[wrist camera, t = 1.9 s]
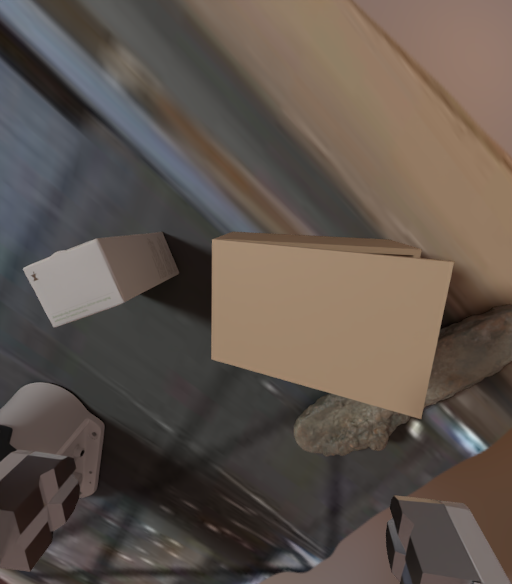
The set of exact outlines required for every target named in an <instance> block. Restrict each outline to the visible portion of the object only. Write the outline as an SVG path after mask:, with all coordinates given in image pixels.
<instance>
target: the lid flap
mask: <svg viewBox="0 0 512 584" xmlns="http://www.w3.org/2000/svg"><path fill="white" fill-rule="evenodd" d="M453 265H454V262H453V261H446V260H435V259H425V258H414V257H404V256H393V255H382V254H372V253H361V252H351V251H340V250H329V249H319V248H308V247H297V246H287V245H276V244H266V243H255V242H244V241H234V240H223V239H212V357H211V359H213V360H216V361H220V362H223V363H227V364H230V365H234V366H237V367H241V368H244V369H248V370H251V371H254V372H258V373H261V374H265V375H268V376H272V377H275V378H279V379H282V380H286V381H289V382H293V383H296V384H300V385H303V386H307V387H310V388H314V389H317V390H321V391H324V392H328V393H331V394H335V395H338V396H342V397H345V398H349V399H352V400H356V401H359V402H363V403H366V404H370V405H373V406H377V407H380V408H384V409H387V410H391V411H394V412H398V413H401V414H405V415H408V416H412V417H415V418H419V419H421V418H422V413H423V408H424V403H425V398H426V394H427V389H428V384H429V379H430V375H431V370H432V365H433V360H434V355H435V351H436V346H437V341H438V336H439V332H440V327H441V322H442V317H443V313H444V308H445V303H446V298H447V293H448V289H449V284H450V279H451V274H452V270H453Z"/></svg>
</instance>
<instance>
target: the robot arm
mask: <svg viewBox="0 0 512 584" xmlns="http://www.w3.org/2000/svg"><path fill="white" fill-rule="evenodd" d="M104 429H105V426H104V423H103V422H102V421H101V420H100V419H98V418H97V417H96V416H94V415H93V414H91V413H90V412H89V411H88V410H87V409H86V408H85V407H84V405H83V404H82V403H81V402H80V401H79V400H78V399H77V398H76V397H75V396H74V395H73V394H71V393H70V392H69V391H67V390H65V389H63V388H61V387H59V386H57V385H54V384H50V383H42V382H38V383H31V384H28V385H26V386H24V387H22V388H20V389H19V390H18V391H17V392H16V393H15V395H14V396H13V397H12V398H11V399H10V400H9V401H8V402H7V403H6V404H5V405H4V406H3V407H2V408H1V409H0V568H7V569H14V570H22V571H29V572H30V571H31V570H32V569H33V567H34V566H35V564H36V563H37V562H38V560H39V559H40V558H41V556H42V555H43V554H44V552H45V551H46V549H47V548H48V547H49V545H50V544H51V543H52V540H53V531H54V530H56V529H57V528H59V527H60V526H62V525H63V524H65V523H66V522H67V520H68V519H69V518H70V516H71V515H72V513H73V512H74V510H75V507H76V505H77V502H78V500H79V498H83V497H87V496H90V495H92V494H93V493H94V492H95V491H96V490H97V486H98V479H99V470H100V462H101V454H102V446H103V438H104ZM390 510H391V513H392V516H393V518H392V519H391V520H389V521H388V522H387V529H386V547H387V554H388V559H389V563H390V568H391V572H392V573H393V574H394V576H395V577H396V578H397V579H398V581H399V582H400V584H511V582H510V581H509V579H508V577H507V575H506V574H505V572H504V570H503V568H502V566H501V565H500V563H499V561H498V559H497V558H496V556H495V554H494V552H493V550H492V549H491V547H490V545H489V543H488V542H487V540H486V538H485V536H484V535H483V533H482V531H481V529H480V527H479V526H478V524H477V522H476V520H475V518H474V517H473V515H472V513H471V511H470V510H469V508H468V507H467V506H466V505H465V504H464V503H456V502H447V501H438V500H432V499H422V498H413V497H404V496H395V495H394V496H393V498H392V499H391V504H390Z"/></svg>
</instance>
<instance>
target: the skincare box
mask: <svg viewBox="0 0 512 584" xmlns="http://www.w3.org/2000/svg"><path fill="white" fill-rule="evenodd" d="M23 270H24V272H25V274H26V276H27V278H28V280H29V282H30V283H31V285H32V287H33V289H34V291H35V293H36V295H37V296H38V298H39V300H40V302H41V304H42V306H43V308H44V310H45V312H46V314H47V316H48V318H49V320H50V321H51V323H52V325H53V327H58V326H61V325H64V324H67V323H69V322H72V321H75V320H78V319H81V318H84V317H87V316H90V315H93V314H95V313H98V312H101V311H104V310H107V309H110V308H112V307H115V306H118V305H120V304H122V303H124V302H126V301H128V300H130V299H132V298H134V297H135V296H137V295H139V294H141V293H143V292H145V291H147V290H149V289H151V288H153V287H155V286H157V285H159V284H161V283H163V282H164V281H166V280H168V279H170V278H172V277H174V276H176V275H178V274H179V271H178V268H177V266H176V264H175V261H174V259H173V256H172V254H171V252H170V249H169V247H168V245H167V242H166V240H165V237H164V235H163V232H156V233H147V234H137V235H127V236H116V237H106V238H97V239H94V240H92V241H89V242H86V243H84V244H81V245H78V246H76V247H73V248H71V249H68V250H65V251H58V252H56V253H54V254H53V255H52V256H51V257H48V258H46V259H43V260H41V261H38V262H36V263H33V264H31V265H29V266H27V267H25V268H23Z"/></svg>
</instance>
